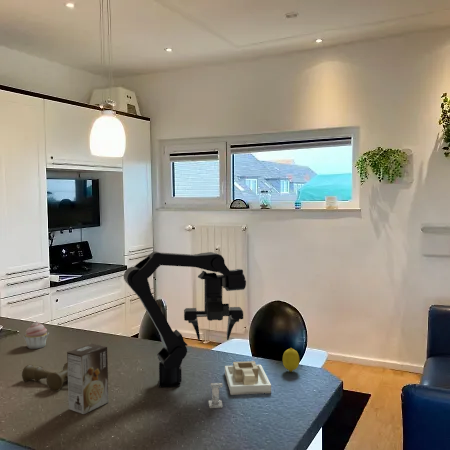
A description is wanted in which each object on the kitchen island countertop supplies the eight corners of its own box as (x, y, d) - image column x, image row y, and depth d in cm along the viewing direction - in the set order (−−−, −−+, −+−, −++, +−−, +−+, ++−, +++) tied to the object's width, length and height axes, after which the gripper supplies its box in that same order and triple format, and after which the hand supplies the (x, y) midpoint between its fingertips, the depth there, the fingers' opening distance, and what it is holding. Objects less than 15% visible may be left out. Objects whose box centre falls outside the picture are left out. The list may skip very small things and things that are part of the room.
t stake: (209, 408, 129) (209, 386, 129) (208, 402, 133) (208, 381, 132) (222, 407, 129) (222, 386, 129) (221, 402, 133) (221, 381, 133)
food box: (93, 397, 136) (92, 342, 135) (109, 402, 133) (108, 346, 132) (67, 409, 128) (66, 351, 127) (83, 415, 125) (82, 355, 124)
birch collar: (233, 374, 153) (233, 361, 152) (254, 373, 153) (254, 361, 153) (238, 389, 140) (238, 376, 140) (261, 388, 141) (261, 375, 141)
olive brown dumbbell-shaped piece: (36, 376, 154) (90, 381, 148) (15, 388, 145) (71, 394, 139) (35, 358, 154) (89, 362, 148) (14, 369, 145) (70, 374, 139)
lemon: (298, 375, 153) (299, 351, 153) (281, 374, 154) (282, 350, 154) (299, 369, 159) (299, 346, 158) (283, 368, 160) (283, 344, 159)
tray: (271, 393, 139) (271, 384, 139) (230, 394, 138) (230, 386, 138) (260, 372, 156) (260, 364, 156) (224, 373, 155) (224, 365, 155)
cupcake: (43, 350, 178) (43, 324, 178) (19, 350, 178) (18, 324, 178) (53, 343, 188) (52, 318, 187) (29, 342, 188) (29, 318, 187)
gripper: (184, 297, 141) (184, 349, 142) (245, 296, 143) (245, 347, 144) (183, 290, 153) (184, 338, 153) (241, 289, 154) (240, 336, 155)
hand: (213, 340), depth 151 cm, fingers open, 9 cm apart
